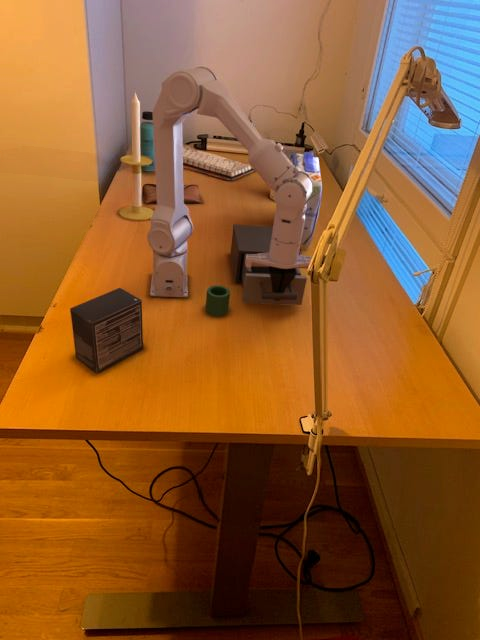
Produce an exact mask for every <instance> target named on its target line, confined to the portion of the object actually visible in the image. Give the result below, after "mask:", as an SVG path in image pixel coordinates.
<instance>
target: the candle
mask: <svg viewBox="0 0 480 640" xmlns="http://www.w3.org/2000/svg"><path fill="white" fill-rule="evenodd" d="M130 105H131V107H130V109H131V112H130V113H131V115H130V116H131V154H127V155H123V156H121V157H120V159H119V161H120V162H121V163H122V164H124V165H127V166H131V194H132V195H131V198H132V201H131V202H132V203H131V205H132V206H126V207H122V208H121V209H120V210H119V212H118V215H119V216H120V217H122V218H124V219H125V220H130V221H147V220H151V217H152V215H153V213H154V211H155V210H153V209H151V208H150V207H146V206H142V170H141V166H145V165H149V164H151V163H152V159H151V158H149V157H146V156H141V155H140V124H141V101H140V100H139V99H138V95H137V93H136V90H134V93H133V98H132V100H131V101H130Z"/></svg>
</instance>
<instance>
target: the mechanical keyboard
mask: <svg viewBox="0 0 480 640" xmlns="http://www.w3.org/2000/svg"><path fill="white" fill-rule="evenodd" d="M183 169H185V170H188V171H195V172H198V173H201V174H205V175H207V176H211V177H214V178H218V179H221V180H225V181H235V180H237V179H240V178H242V177H244V176H246V175H248V174H252V173H254V172H257V171H256V170H255V169H254V168H253V167H252V166H251V164H249V163H248V164H247V163H243V162H240V161H237V160H235V161H234V159H230V158H226V157H224V156H221V155H217V154H214V153H210V152H207V151H203V150H200V149H198V150H197V149H196V148H192V147H191V146H190V145H187V144H184V143H183Z"/></svg>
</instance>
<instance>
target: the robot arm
mask: <svg viewBox="0 0 480 640" xmlns="http://www.w3.org/2000/svg"><path fill="white" fill-rule="evenodd" d="M195 111H196V114H197V115H201V116H205V117H210V118H211V117H212V118H216V119H217V120H218V121H219V122H220V123H221V124H222V125H223V126H224V127H225V128H226V129H227V130H228V132H230V133H231V135H232V136H233V137H234V138H235V139H236V140H237V141H238V142H239V143H240V144H241V145H242V146H243V147H244V149H245V150H246V151H247V153H248V164H249V165H250V167H251V168H252V169H255V170H256V171H255V172H256V173H257V174H258V176H259V177H261V179H262V180H263V181H264V183H266V185H267V186H268V187H269V188H270V190H271V189H272V190H273V191H274V200H273V201H274V203H275V204H276V206H277V207H276V208H275V212H274V218H273V223H272V227H273V230H272V237H271V244H270V250H269V252H268V253H260V254H246V259H245V265H246V267H248V268H251V267H252V266H261V267H268V270H269V273H270V277H271V282H272V292H281V293H284V291H285V289H286V288H287V286H288V285H289V284H290V282H291V281H292V280H293V279H294V278H295V276H296V271H295V269H296V268H299V269H306V270H307V269H308V266H309V263H310V260H311V258H312V257H313V256H307V255H302V254H301V255H298V254H299V251H300V249H301V248H300V244H301V238H302V233H303V228H304V222H305V213H306V207H307V203H306V201H307V200H308V199H309V197H310V196H311V194H312V191H313V184H312V181H311V179H310V177H309V175H308V174H307V173H306V172H304V171H300V168H299V167H298V166H296V167H295V166H294V165H293V164H292V162H291V161H290V160H289V159H288V158H287V156H286V155H285V154H284V153H283V150H284V146H283V144H281V143H280V142H277V143H276V142H275V140H274V139H271V138H264V137H262V135H261V134H260V132H259V131H258V130H257V128H255V126H254V125H253V123H252V122H251V120H250V119H249V117H248V116H247V115H246V113H245V112H244V111H243V109H242V108H241V106H240V105H239V104H238V103H237V101H236V100H235V99H234V97H233V96H232V95H231V93H230V91H229V90H228V88H227V86H226V84H225V83H224V82H223V81H222V80H221V79H218V77H217V74H215V72H214V71H213V70H212V69H211V68H209V67H206V66H197V67H195V68H191V69H186V70H177V71H174V72H172V73H171V74H170V75H169V76H168V77H166V78H165V79H164V80H163V81H162V82H161V91H160V93H159V96H158V97H157V100H156V102H155V104H154V107H153V109H152V112H153V120H152V122H153V133H154V153H155V170H154V173H155V184H156V194H157V203H156V206H155V209H154V210H153V211H154V213H153V215H152V217H151V219H150V227H149V229H148V231H147V234H146V235H147V236H146V238H147V243H148V245H149V247H150V248H151V249H152V260H153V261H152V273H151V280H150V281H151V282H150V290H149V296H150V297H161V298H162V297H163V298H188V297H189V287H188V285H189V284H188V283H189V282H188V279H189V277H188V274H187V269H188V268H187V267H188V265H187V264H188V239H189V238H191V236H192V235H193V232H194V224H193V221H192V219H191V217H190V209H189V207H188V206H187V205H186V204H184V189H183V185H184V168H183V144H184V143H183V141H184V139H183V123H184V122H185V120H187V119H188V118H190V116H191V115H192V114H193V113H194V112H195ZM292 165H293V166H292ZM291 166H292V167H291ZM290 167H291V168H290ZM273 182H274V183H273ZM272 183H273V184H272ZM271 184H272V185H271ZM274 300H277V301H280V300H281V299H274Z"/></svg>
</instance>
